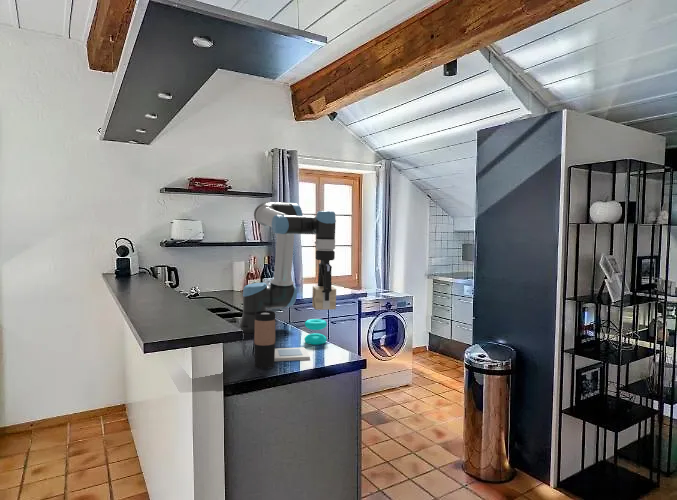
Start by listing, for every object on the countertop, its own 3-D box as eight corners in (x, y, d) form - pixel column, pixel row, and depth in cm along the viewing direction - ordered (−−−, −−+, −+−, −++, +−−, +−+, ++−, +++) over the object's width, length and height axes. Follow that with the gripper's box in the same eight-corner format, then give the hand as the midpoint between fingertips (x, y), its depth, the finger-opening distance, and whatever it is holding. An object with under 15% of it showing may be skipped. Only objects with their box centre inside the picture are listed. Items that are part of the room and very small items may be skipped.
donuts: (301, 319, 202) (321, 317, 206) (301, 341, 202) (320, 339, 207) (310, 323, 193) (330, 321, 197) (309, 346, 193) (330, 344, 198)
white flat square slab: (271, 351, 184) (271, 348, 184) (304, 350, 187) (304, 346, 187) (273, 361, 170) (273, 357, 170) (309, 359, 173) (309, 356, 173)
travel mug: (249, 366, 163) (250, 312, 162) (264, 361, 170) (264, 309, 169) (264, 370, 159) (265, 315, 158) (279, 365, 165) (279, 312, 164)
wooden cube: (312, 305, 180) (312, 286, 179) (331, 305, 182) (331, 286, 181) (315, 309, 172) (316, 289, 172) (335, 309, 174) (336, 289, 173)
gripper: (311, 248, 185) (310, 302, 186) (321, 251, 165) (319, 312, 166) (329, 248, 187) (327, 302, 188) (340, 251, 166) (339, 311, 168)
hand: (323, 306), depth 177 cm, fingers closed on wooden cube, 8 cm apart
